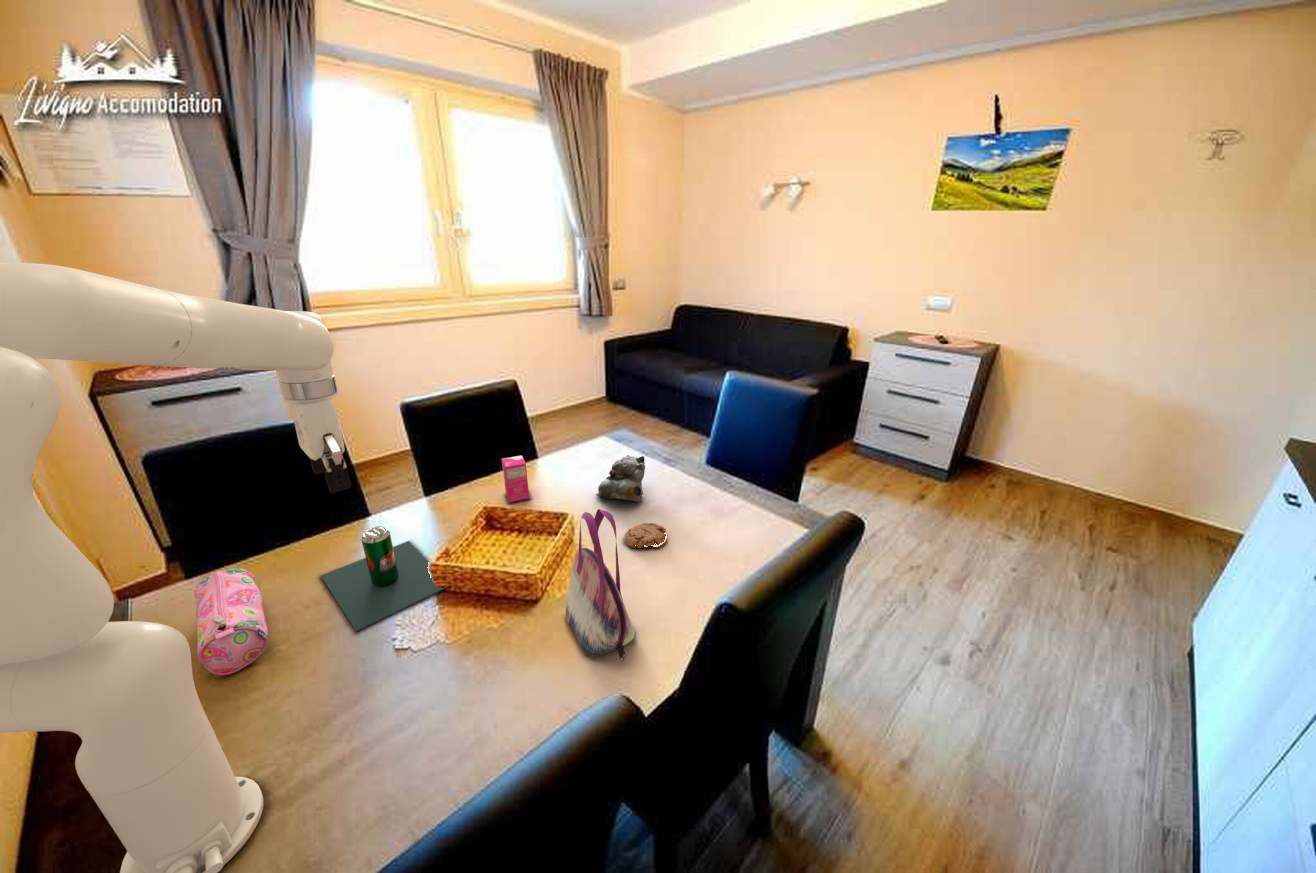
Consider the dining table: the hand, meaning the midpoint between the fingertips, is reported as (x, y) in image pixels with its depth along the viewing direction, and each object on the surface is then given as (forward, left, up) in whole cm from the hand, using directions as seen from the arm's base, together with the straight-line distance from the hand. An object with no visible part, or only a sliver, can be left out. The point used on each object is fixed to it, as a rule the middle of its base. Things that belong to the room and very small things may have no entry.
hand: (332, 480), depth 86 cm
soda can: (+2, -5, -27) cm, 27 cm away
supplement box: (+14, -44, -27) cm, 54 cm away
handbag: (-40, -28, -27) cm, 56 cm away
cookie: (-26, -55, -27) cm, 67 cm away
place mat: (+2, -5, -27) cm, 27 cm away
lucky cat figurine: (-6, -66, -27) cm, 71 cm away
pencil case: (+5, +19, -27) cm, 33 cm away
